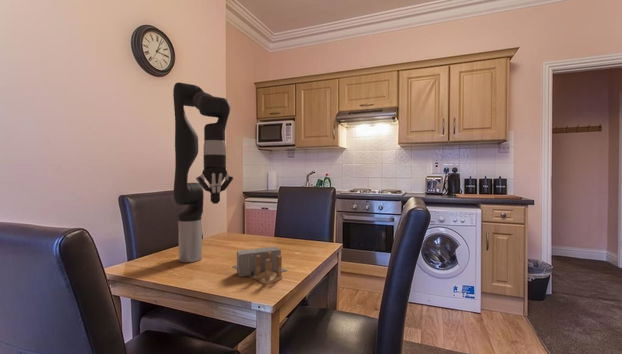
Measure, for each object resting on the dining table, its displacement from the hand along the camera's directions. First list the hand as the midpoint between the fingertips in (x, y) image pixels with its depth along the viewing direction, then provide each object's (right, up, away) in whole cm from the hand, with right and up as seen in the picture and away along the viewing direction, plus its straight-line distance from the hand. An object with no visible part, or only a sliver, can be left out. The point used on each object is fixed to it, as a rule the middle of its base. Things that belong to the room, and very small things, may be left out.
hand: (215, 203), depth 103 cm
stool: (+19, -27, 0) cm, 32 cm away
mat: (+14, -27, +11) cm, 32 cm away
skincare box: (+7, -23, +4) cm, 24 cm away
